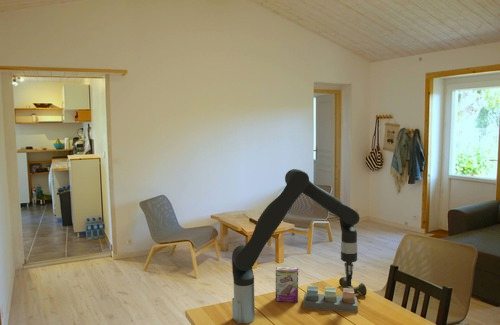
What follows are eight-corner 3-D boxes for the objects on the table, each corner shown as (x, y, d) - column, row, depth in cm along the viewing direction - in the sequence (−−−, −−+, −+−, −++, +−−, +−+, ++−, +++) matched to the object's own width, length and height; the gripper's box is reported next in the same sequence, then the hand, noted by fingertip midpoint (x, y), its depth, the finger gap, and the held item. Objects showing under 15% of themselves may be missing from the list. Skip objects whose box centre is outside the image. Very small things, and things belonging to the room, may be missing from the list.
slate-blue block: (317, 300, 192) (317, 290, 191) (307, 300, 193) (307, 290, 192) (317, 296, 197) (317, 286, 196) (307, 295, 198) (307, 285, 197)
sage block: (335, 302, 190) (335, 291, 190) (324, 301, 191) (325, 291, 191) (335, 297, 195) (335, 287, 195) (325, 296, 196) (325, 286, 196)
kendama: (351, 285, 218) (371, 299, 199) (334, 287, 216) (353, 302, 197) (350, 274, 218) (370, 288, 199) (334, 276, 216) (353, 290, 196)
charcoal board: (357, 312, 186) (357, 305, 186) (303, 308, 191) (303, 302, 191) (356, 302, 196) (356, 296, 196) (304, 299, 201) (304, 293, 201)
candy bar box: (275, 302, 198) (275, 270, 196) (275, 297, 203) (275, 266, 201) (298, 302, 197) (298, 270, 195) (298, 298, 202) (298, 266, 200)
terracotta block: (354, 303, 189) (354, 293, 188) (343, 302, 190) (343, 292, 189) (353, 298, 194) (353, 288, 193) (342, 297, 195) (342, 288, 194)
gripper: (358, 255, 182) (357, 292, 184) (356, 246, 195) (355, 280, 197) (341, 254, 183) (341, 291, 185) (340, 245, 196) (340, 279, 198)
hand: (348, 285), depth 191 cm, fingers closed
